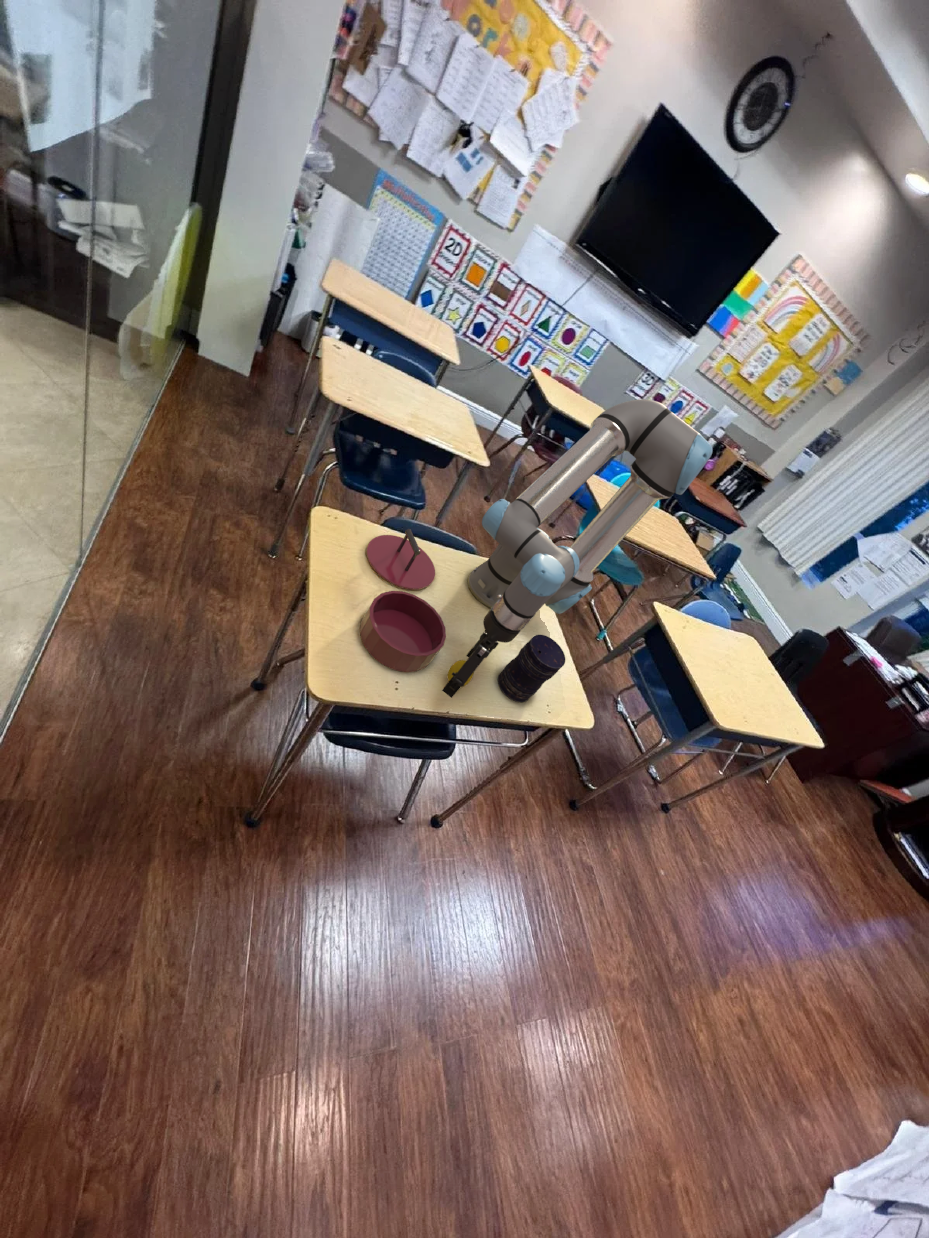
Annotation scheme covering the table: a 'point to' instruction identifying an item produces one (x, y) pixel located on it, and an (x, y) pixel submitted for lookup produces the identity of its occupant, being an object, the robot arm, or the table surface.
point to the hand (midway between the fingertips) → (459, 675)
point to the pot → (402, 631)
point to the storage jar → (531, 668)
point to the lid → (401, 561)
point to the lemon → (456, 668)
